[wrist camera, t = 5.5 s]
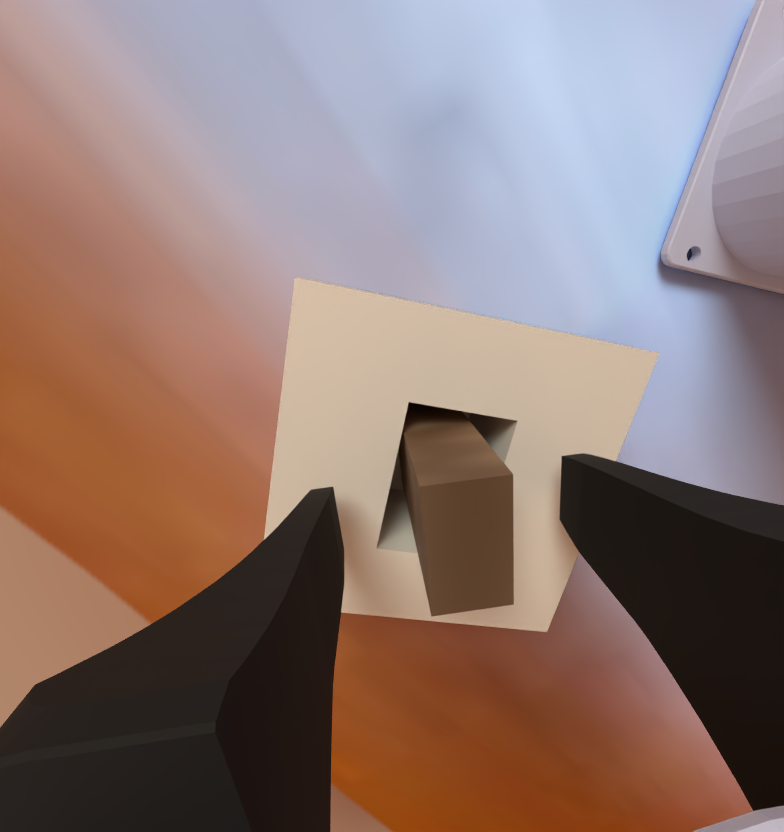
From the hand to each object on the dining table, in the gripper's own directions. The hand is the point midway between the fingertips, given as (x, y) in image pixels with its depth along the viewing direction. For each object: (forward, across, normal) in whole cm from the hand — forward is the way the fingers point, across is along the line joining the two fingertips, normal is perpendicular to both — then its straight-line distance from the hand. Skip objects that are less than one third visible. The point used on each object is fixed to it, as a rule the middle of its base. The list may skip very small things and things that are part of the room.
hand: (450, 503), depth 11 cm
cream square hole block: (+5, 0, 0) cm, 5 cm away
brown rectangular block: (+5, 0, 0) cm, 5 cm away
